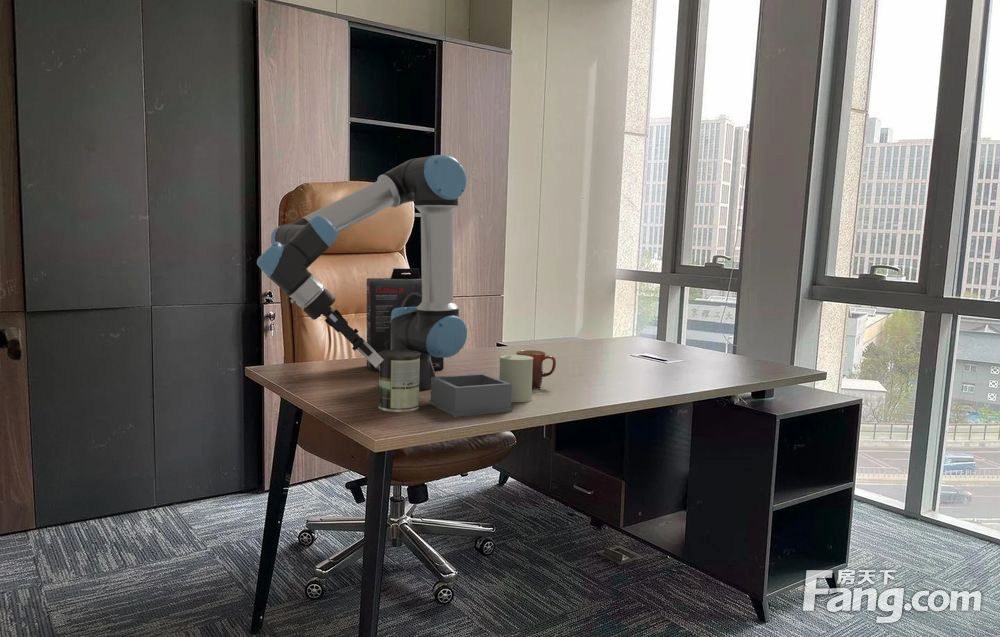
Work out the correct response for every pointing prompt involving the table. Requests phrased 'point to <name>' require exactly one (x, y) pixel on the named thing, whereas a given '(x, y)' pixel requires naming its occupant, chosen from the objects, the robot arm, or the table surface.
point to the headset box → (391, 308)
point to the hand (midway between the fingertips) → (375, 359)
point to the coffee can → (399, 380)
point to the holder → (470, 394)
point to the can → (517, 376)
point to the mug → (538, 365)
